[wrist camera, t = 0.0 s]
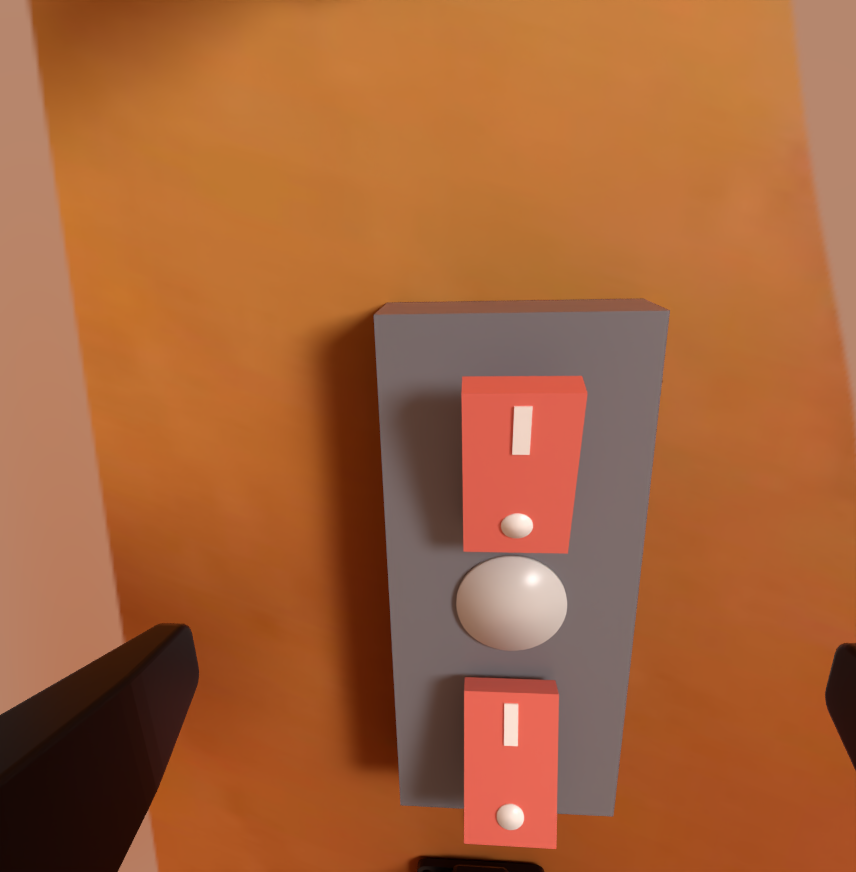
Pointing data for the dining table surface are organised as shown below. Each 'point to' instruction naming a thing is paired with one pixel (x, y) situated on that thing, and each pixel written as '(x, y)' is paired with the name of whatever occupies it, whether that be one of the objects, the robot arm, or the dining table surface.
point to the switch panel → (515, 572)
